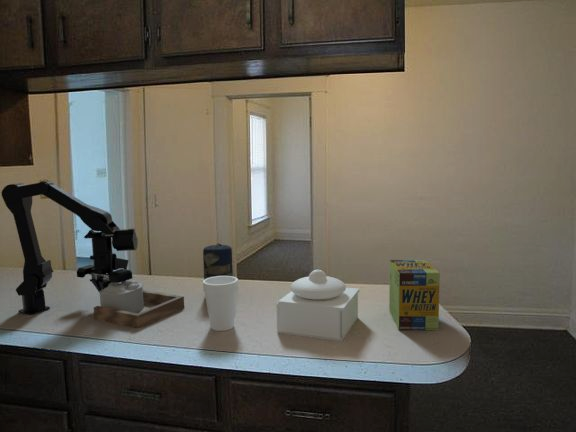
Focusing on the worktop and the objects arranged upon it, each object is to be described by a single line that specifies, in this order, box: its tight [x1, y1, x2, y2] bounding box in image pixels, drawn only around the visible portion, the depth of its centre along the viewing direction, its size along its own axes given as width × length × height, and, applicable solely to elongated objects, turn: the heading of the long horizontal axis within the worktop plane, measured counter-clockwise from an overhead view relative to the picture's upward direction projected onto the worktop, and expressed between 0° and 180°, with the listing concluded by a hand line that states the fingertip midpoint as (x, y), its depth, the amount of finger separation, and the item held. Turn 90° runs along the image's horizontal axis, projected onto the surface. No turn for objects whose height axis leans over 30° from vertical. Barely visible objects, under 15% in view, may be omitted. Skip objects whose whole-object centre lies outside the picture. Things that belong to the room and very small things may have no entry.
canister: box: [202, 243, 234, 280], centre depth 149 cm, size 10×10×18 cm
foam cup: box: [202, 275, 239, 332], centre depth 123 cm, size 10×9×13 cm
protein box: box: [388, 259, 441, 331], centre depth 124 cm, size 10×15×16 cm
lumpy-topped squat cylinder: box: [99, 279, 145, 313], centre depth 139 cm, size 10×13×9 cm
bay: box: [93, 289, 185, 329], centre depth 136 cm, size 18×19×4 cm
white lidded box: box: [275, 268, 360, 342], centre depth 122 cm, size 18×18×16 cm
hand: (106, 300), depth 143 cm, fingers closed
